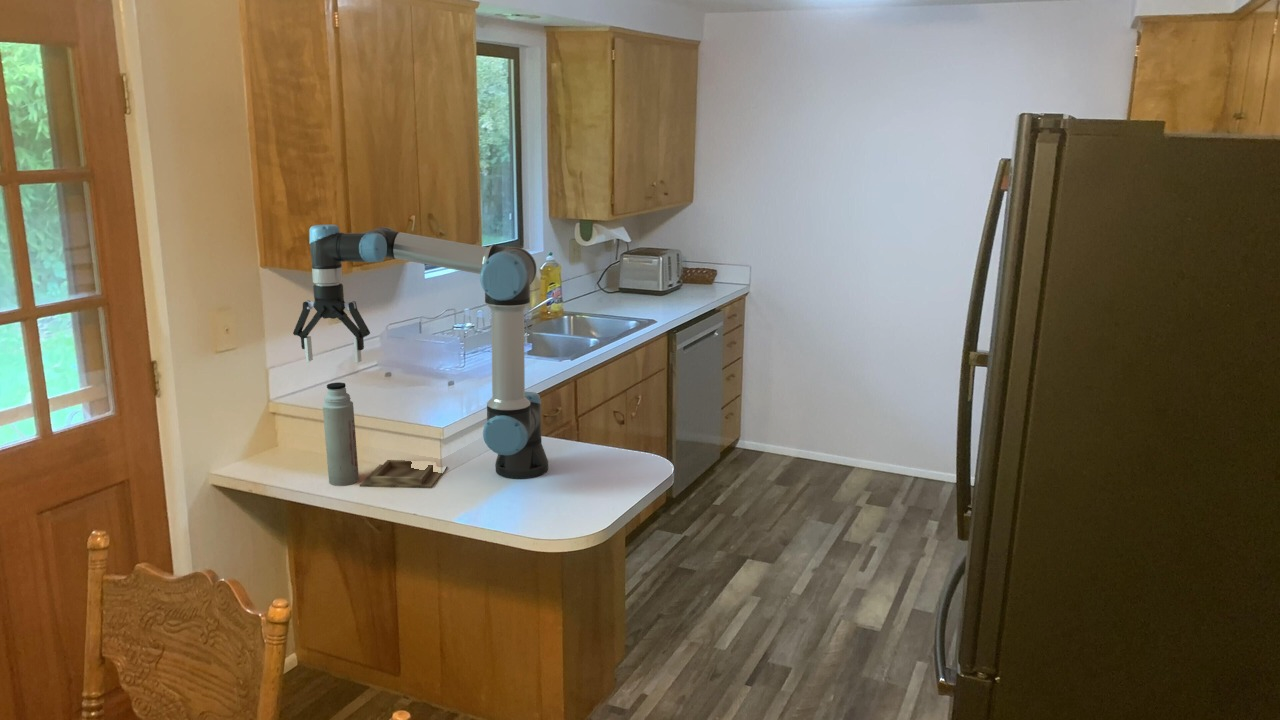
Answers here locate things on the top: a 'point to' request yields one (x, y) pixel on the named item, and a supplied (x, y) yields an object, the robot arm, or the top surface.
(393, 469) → the brown wooden tray
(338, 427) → the thermos bottle
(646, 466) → the top surface
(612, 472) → the top surface
